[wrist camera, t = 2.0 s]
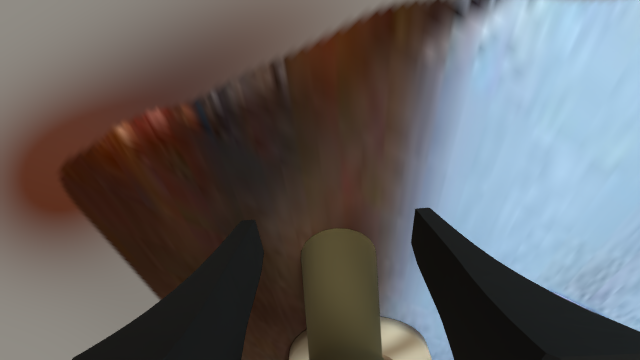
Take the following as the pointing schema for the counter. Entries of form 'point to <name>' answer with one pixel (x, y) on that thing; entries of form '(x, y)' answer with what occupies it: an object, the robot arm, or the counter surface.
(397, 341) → the birch stand
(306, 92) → the counter surface
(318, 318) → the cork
